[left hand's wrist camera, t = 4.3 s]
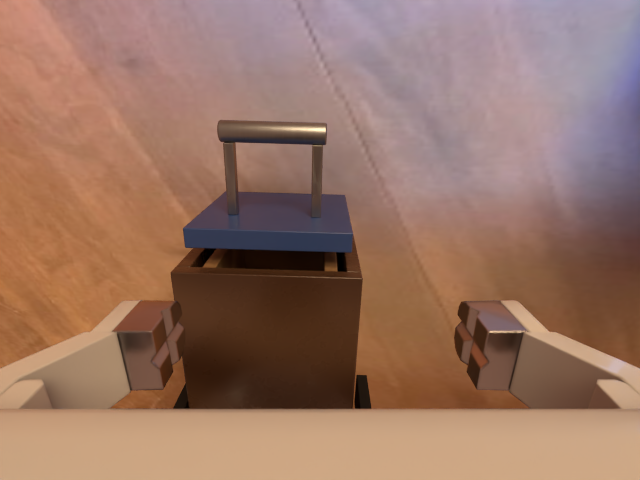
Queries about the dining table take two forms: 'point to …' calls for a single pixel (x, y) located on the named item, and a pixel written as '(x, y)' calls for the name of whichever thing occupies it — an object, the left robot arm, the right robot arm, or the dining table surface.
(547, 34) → the dining table surface
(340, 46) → the dining table surface
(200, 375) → the brown rectangular box
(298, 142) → the drawer
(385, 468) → the left robot arm
